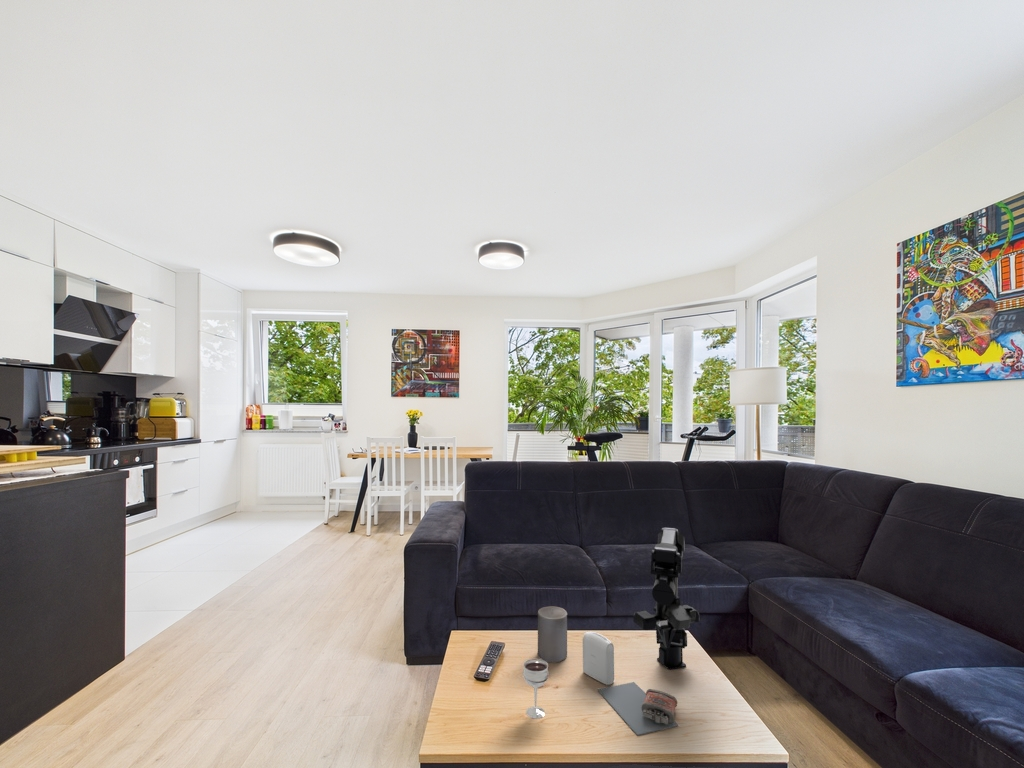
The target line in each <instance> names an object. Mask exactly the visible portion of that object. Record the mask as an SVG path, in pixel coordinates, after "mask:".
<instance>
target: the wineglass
mask: <svg viewBox="0 0 1024 768" xmlns="http://www.w3.org/2000/svg"><path fill="white" fill-rule="evenodd" d="M522 665H523V671H522V675H523V679H524V681H525V683H526V684H527V685H528V686H530V687H532V688H533V689H534V690H533V691H534V692H533V693H534V697H533V698H534V706H531V707H528V708H527V709H526V711H525V713H527V714H526V715H527V716H528V717H529V718H531V719H542V718H543V717H544V716H545V715H546V712H545V709H543V708H542V707H540V706H537V705H538V704H537V702H538V701H537V699H538V698H537V697H538V688H540V687H542V686H544V685H545V684H546V682H547V681H548V678H549V674H550V673H549V669H548V667H549V662H546V661H544V660H542V659H540V658H529V659H527V660H525V661H524V662H523V664H522Z"/></svg>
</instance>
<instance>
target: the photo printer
mask: <svg viewBox="0 0 1024 768" xmlns="http://www.w3.org/2000/svg"><path fill="white" fill-rule="evenodd" d="M582 671H583V673H584V674H586V675H587V676H589V677H591V678H593V679H595V680H596V681H598V682H600V683H601V684H604V685H607V686H610V685H613V683H614V682H615V646H614V643H612V642H611V640H610V639H608V638H607V637H606V636H605V635H603V634H600V633H598V632H595V631H587V632H584V634H583V637H582Z"/></svg>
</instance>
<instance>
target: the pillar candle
mask: <svg viewBox="0 0 1024 768" xmlns="http://www.w3.org/2000/svg"><path fill="white" fill-rule="evenodd" d="M537 656H538V659H541V660H544V661H546V662H547V663H559V662H561V661H564V660H566V659H567V658H568V612H567V610H565V609H564V608H563V607H559V606H553V605H551V606H544V607H541V608H539V609H538V611H537Z"/></svg>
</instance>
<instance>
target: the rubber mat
mask: <svg viewBox="0 0 1024 768" xmlns="http://www.w3.org/2000/svg"><path fill="white" fill-rule="evenodd" d="M597 692H598V693H599V694H600V695H601V697H603V699H604V700H605V701H606V702H607V703H608V704H609V705H610V706H611V707H612V708H613V710H614V711H615V712H616V714H618V715H619V716H620V718H621V719H622V720H623V721H624V722H625V723H626V724H627V726H628V727H629V728H630V729H631V730H632V731H633V733H634V734H635V735H636V736H637V737H638V735H639V736H643V735H646V733H647V734H650V732H652V733H656V732H659V730H660V731H663V729H664V730H668V728H669V729H672V727H673V728H675V727H679V723H677V722H676V721H675V720H674V721H673V722H672V723H668V724H664V723H662V722H661V723H657V722H655V721H654V720H653V719H650V718H647V717H645V716H643V712H642V704H643V703H644V700H645V697H646V691H644V690H643V689H642V688H641V687H640V686H639V685H638V684H637V683H636V682H635V681H633V682H627V683H622V684H618V685H612V686H607V687H602V688H598V689H597ZM655 731H656V732H655Z"/></svg>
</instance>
